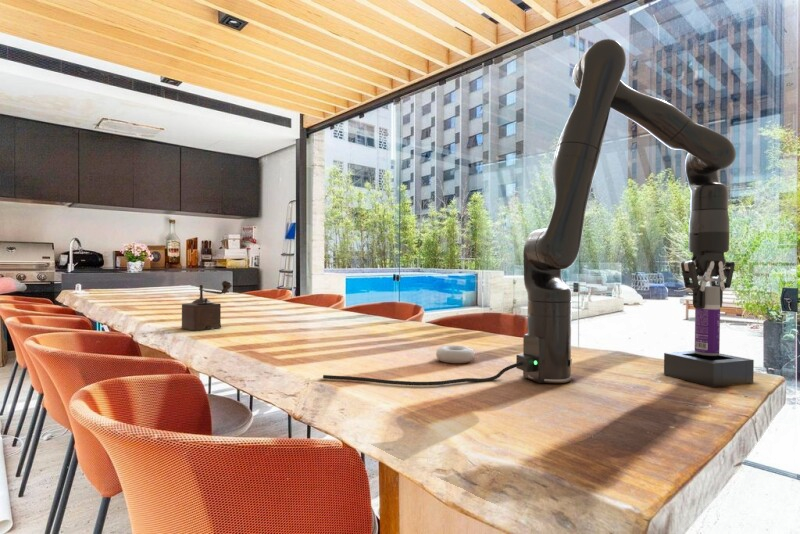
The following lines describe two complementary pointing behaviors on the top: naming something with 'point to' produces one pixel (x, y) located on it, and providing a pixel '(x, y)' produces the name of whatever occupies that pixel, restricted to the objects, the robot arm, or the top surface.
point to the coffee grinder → (203, 311)
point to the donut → (455, 354)
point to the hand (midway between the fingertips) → (707, 307)
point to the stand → (709, 368)
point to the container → (708, 323)
